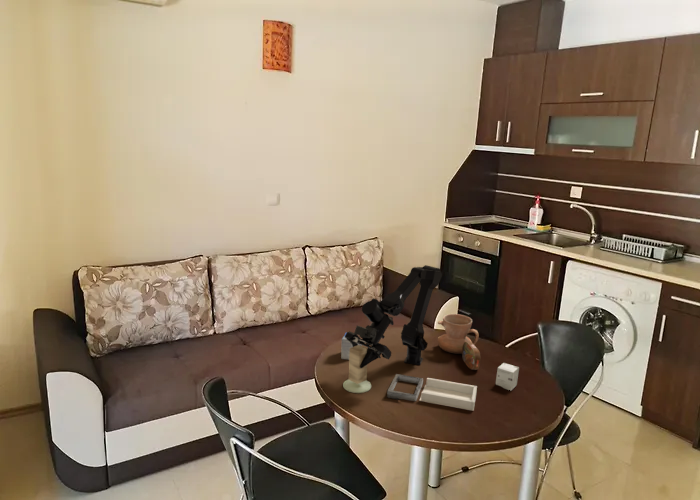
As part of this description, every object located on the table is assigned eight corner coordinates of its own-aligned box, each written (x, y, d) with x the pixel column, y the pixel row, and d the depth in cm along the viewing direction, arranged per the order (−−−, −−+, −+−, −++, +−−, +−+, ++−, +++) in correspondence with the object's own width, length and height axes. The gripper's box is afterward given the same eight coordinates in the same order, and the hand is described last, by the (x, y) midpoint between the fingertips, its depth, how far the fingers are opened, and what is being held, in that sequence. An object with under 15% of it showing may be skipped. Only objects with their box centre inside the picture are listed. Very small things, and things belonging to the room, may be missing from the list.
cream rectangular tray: (425, 386, 185) (425, 377, 184) (476, 395, 180) (477, 386, 179) (419, 402, 174) (420, 392, 173) (473, 412, 168) (474, 402, 168)
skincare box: (495, 386, 187) (497, 367, 186) (501, 380, 192) (503, 362, 191) (511, 391, 184) (513, 372, 182) (517, 385, 189) (519, 366, 187)
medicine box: (351, 360, 204) (352, 340, 203) (340, 359, 205) (341, 338, 203) (355, 352, 212) (356, 332, 210) (344, 351, 213) (345, 331, 211)
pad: (348, 377, 189) (348, 376, 189) (374, 382, 186) (374, 381, 186) (339, 390, 180) (339, 388, 180) (366, 395, 177) (366, 393, 177)
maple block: (357, 375, 186) (358, 344, 183) (366, 380, 183) (367, 348, 180) (348, 379, 182) (349, 348, 180) (357, 384, 179) (358, 352, 177)
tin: (460, 357, 211) (462, 338, 210) (468, 357, 212) (470, 338, 210) (472, 373, 197) (474, 353, 195) (480, 373, 197) (482, 353, 195)
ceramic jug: (429, 350, 217) (432, 318, 214) (442, 339, 229) (445, 309, 226) (470, 362, 208) (473, 329, 204) (481, 350, 220) (485, 319, 216)
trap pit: (395, 380, 189) (396, 373, 188) (422, 384, 186) (423, 378, 185) (387, 397, 176) (387, 390, 175) (415, 403, 173) (416, 396, 172)
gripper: (348, 310, 187) (326, 346, 181) (387, 324, 174) (364, 363, 169) (362, 325, 194) (341, 360, 189) (401, 340, 181) (379, 378, 176)
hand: (355, 365), depth 180 cm, fingers closed on maple block, 4 cm apart
